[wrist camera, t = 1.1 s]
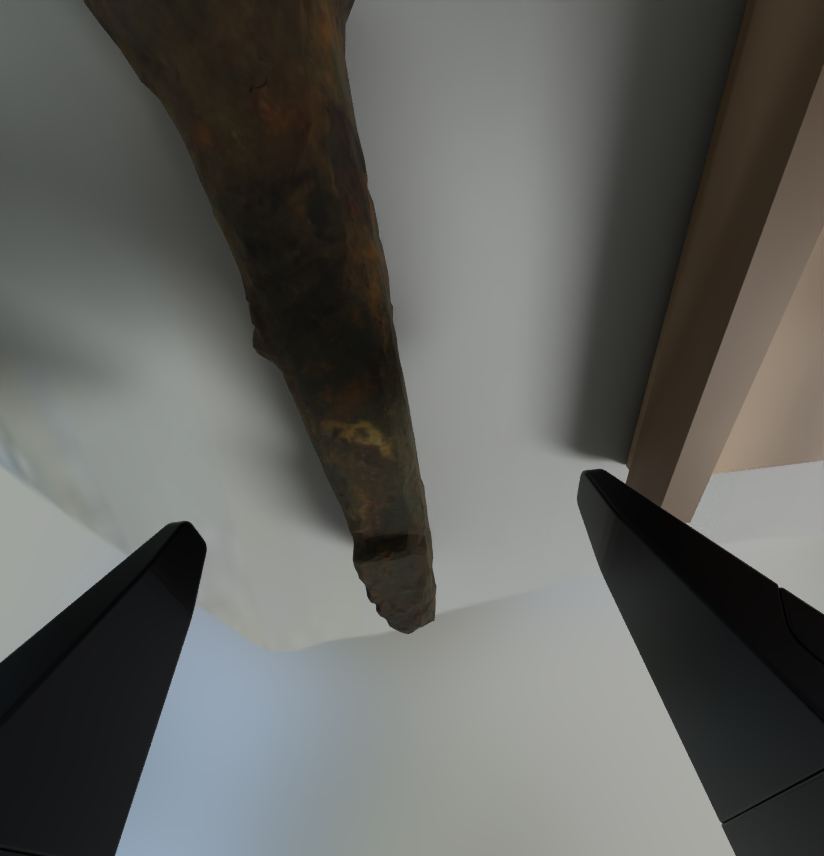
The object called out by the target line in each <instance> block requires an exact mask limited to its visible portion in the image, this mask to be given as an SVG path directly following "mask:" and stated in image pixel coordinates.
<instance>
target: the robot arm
mask: <svg viewBox="0 0 824 856" xmlns="http://www.w3.org/2000/svg"><path fill="white" fill-rule="evenodd" d="M577 502H578V507H579V510H580V513H581V516H582V518H583V521H584V524H585V527H586V530H587V533H588V536H589V539H590V542H591V545H592V548H593V550H594V553H595V556H596V559H597V562H598V565H599V567H600V570H601V572H602V574H603V577H604V579H605V581H606V583H607V585H608V587H609V589H610V592H611V594H612V596H613V598H614V600H615V602H616V604H617V606H618V608H619V611H620V613H621V615H622V617H623V619H624V621H625V623H626V625H627V627H628V629H629V631H630V634H631V636H632V638H633V640H634V642H635V644H636V646H637V648H638V650H639V652H640V655H641V657H642V659H643V661H644V663H645V665H646V667H647V669H648V671H649V674H650V676H651V678H652V680H653V682H654V684H655V686H656V688H657V690H658V692H659V695H660V696H661V699H662V701H663V703H664V705H665V707H666V709H667V711H668V713H669V715H670V717H671V719H672V722H673V724H674V726H675V728H676V730H677V732H678V734H679V737H680V739H681V741H682V743H683V745H684V747H685V749H686V751H687V753H688V756H689V758H690V760H691V762H692V764H693V766H694V768H695V770H696V772H697V774H698V777H699V779H700V780H701V783H702V785H703V787H704V789H705V791H706V793H707V795H708V797H709V800H710V801H711V804H712V806H713V808H714V810H715V812H716V814H717V816H718V818H719V820H720V822H721V823H722V828H723V829H724V832H725V834H726V836H727V838H728V840H729V842H730V844H731V846H732V848H733V851H734V853H735V855H736V856H824V614H823V613H821V612H820V611H818V610H816V609H815V608H813V607H812V606H810V605H809V604H807V603H805V602H804V601H802V600H801V599H799V598H798V597H796V596H795V595H793V594H792V593H790V592H789V591H787V590H786V589H784V588H779V587H778V585H777V584H776V583H775V582H773V581H772V580H770V579H769V578H767V577H766V576H764V575H763V574H761V573H760V572H758V571H757V570H755V569H754V568H752V567H750V566H749V565H748V564H746V563H745V562H743V561H742V560H740V559H739V558H737V557H735V556H734V555H732V554H731V553H729V552H728V551H726V550H725V549H723V548H722V547H720V546H719V545H717V544H716V543H714V542H713V541H711V540H710V539H708V538H707V537H705V536H704V535H702V534H701V533H699V532H698V531H696V530H695V529H693V528H692V527H690V526H688V525H687V524H685V523H684V522H682V521H681V520H679V519H678V518H676V517H675V516H673V515H672V514H670V513H669V512H667V511H666V510H664V509H663V508H661V507H660V506H658V505H657V504H655V503H654V502H652V501H651V500H649V499H648V498H646V497H644V496H643V495H641V494H640V493H638V492H637V491H635V490H634V489H632V488H631V487H629V486H628V485H626V484H625V483H623V482H622V481H620V480H619V479H617V478H616V477H614V476H613V475H611V474H610V473H608V472H607V471H605V470H603V469H593V470H585V471H583V472H582V473H581V476H580V482H579V488H578V494H577ZM206 551H207V547H206V543H205V541H204V539H203V538H202V537H201V535H200V534H199V533H198V531H197V530H196V529H195V527H194V526H193V525H192V524H191V523H190V522H188V521H180V522H173V523H169V524H168V525H166V526H165V527H164V528H162V529H161V530H160V531H159V532H158V533H156V534H155V535H154V536H153V537H152V538H150V539H149V540H148V541H147V542H146V543H144V544H143V545H142V546H141V547H140V548H138V549H137V550H136V551H135V552H133V553H132V554H131V555H130V556H129V557H127V558H126V559H125V560H124V561H123V562H121V563H120V564H119V565H118V566H117V567H115V568H114V569H113V570H112V571H111V572H109V573H108V574H107V575H106V576H105V577H103V578H102V579H101V580H100V581H99V582H98V583H96V584H95V585H94V586H92V587H91V588H90V589H89V590H88V591H86V592H85V593H84V594H83V595H82V596H80V597H79V598H78V599H77V600H76V601H74V602H73V603H72V604H71V605H70V606H68V607H67V608H66V609H65V610H64V611H62V612H61V613H60V614H59V615H57V616H56V617H55V618H54V619H53V620H51V621H50V622H49V623H48V624H46V625H45V626H44V627H43V628H42V629H41V630H39V631H38V632H37V633H36V634H35V635H33V636H32V637H31V638H30V639H28V640H27V641H26V642H25V643H24V644H22V645H21V646H20V647H19V648H17V649H16V650H15V651H14V652H13V653H11V654H10V655H9V656H8V657H7V658H5V660H3V661H2V662H1V663H0V856H115V854H116V851H117V847H118V844H119V841H120V838H121V835H122V832H123V829H124V826H125V823H126V820H127V817H128V813H129V810H130V807H131V804H132V801H133V798H134V795H135V792H136V789H137V785H138V782H139V780H140V776H141V773H142V770H143V767H144V764H145V761H146V758H147V755H148V752H149V749H150V746H151V742H152V739H153V736H154V733H155V730H156V727H157V724H158V721H159V718H160V715H161V711H162V709H163V705H164V702H165V699H166V696H167V693H168V690H169V687H170V684H171V681H172V678H173V675H174V672H175V668H176V665H177V662H178V659H179V656H180V653H181V650H182V646H183V644H184V641H185V637H186V634H187V631H188V628H189V625H190V622H191V618H192V615H193V611H194V607H195V603H196V598H197V593H198V589H199V584H200V580H201V575H202V570H203V566H204V561H205V557H206Z"/></svg>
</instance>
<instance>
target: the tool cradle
mask: <svg viewBox="0 0 824 856" xmlns="http://www.w3.org/2000/svg"><path fill="white" fill-rule="evenodd" d="M823 460H824V0H747V4H746V8H745V12H744V15H743V19H742V23H741V27H740V31H739V35H738V38H737V42H736V46H735V50H734V54H733V58H732V61H731V65H730V69H729V73H728V77H727V81H726V84H725V88H724V92H723V96H722V100H721V104H720V107H719V111H718V115H717V119H716V123H715V127H714V130H713V134H712V138H711V142H710V146H709V150H708V153H707V157H706V161H705V165H704V169H703V173H702V176H701V180H700V184H699V188H698V192H697V196H696V199H695V203H694V207H693V211H692V215H691V219H690V222H689V226H688V230H687V234H686V238H685V242H684V245H683V249H682V253H681V257H680V261H679V265H678V268H677V272H676V276H675V280H674V284H673V288H672V291H671V295H670V299H669V303H668V307H667V311H666V314H665V318H664V322H663V326H662V330H661V334H660V337H659V341H658V345H657V349H656V353H655V356H654V360H653V364H652V368H651V372H650V376H649V379H648V383H647V387H646V391H645V395H644V399H643V402H642V406H641V410H640V414H639V418H638V422H637V425H636V429H635V433H634V437H633V441H632V445H631V448H630V452H629V456H628V460H627V464H626V466H627V468H628V469H629V474H628V477H627V481H626V485H628V486H629V487H631V488H632V489H634V490H635V491H637V492H638V493H640V494H641V495H643V496H644V497H646V498H648V499H649V500H651V501H652V502H654V503H655V504H657V505H658V506H660V507H661V508H663V509H664V510H666V511H667V512H669V513H670V514H672V515H673V516H675V517H676V518H678V519H679V520H681V521H682V522H684V523H689V522H691V519H692V517H693V515H694V513H695V510H696V508H697V506H698V504H699V502H700V499H701V497H702V495H703V493H704V490H705V488H706V486H707V484H708V482H709V479H710V477H711V475H712V474H717V473H726V472H734V471H742V470H750V469H758V468H766V467H774V466H782V465H790V464H798V463H806V462H814V461H823Z"/></svg>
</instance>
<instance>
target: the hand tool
mask: <svg viewBox="0 0 824 856" xmlns="http://www.w3.org/2000/svg"><path fill="white" fill-rule="evenodd" d="M354 1H355V0H84V2H85V4H86V5H87V7H88V8H89V9H90V11H91V12H92V13H93V15H94V16H95V17H96V19H97V20H98V22H99V23H100V24H101V26H102V27H103V28H104V29H105V31H106V32H107V33H108V34H109V36H110V37H111V38H112V39H113V40H114V42H115V43H116V44H117V45H118V47H119V48H120V49H121V51H122V53H123V54H124V56H125V57H126V59H127V60H128V62H129V63H130V65H131V66H132V68H133V69H134V71H135V72H136V74H137V76H138V77H139V79H140V80H141V82H142V83H143V84H144V85H145V86H147V87H148V88H149V89H150V90H151V91H152V92H153V93H154V94H155V95H156V96H157V97H158V98H159V99H160V100H161V102H162V104H163V105H164V107H165V109H166V110H167V112H168V114H169V115H170V117H171V119H172V120H173V122H174V124H175V125H176V127H177V129H178V131H179V132H180V134H181V136H182V138H183V140H184V142H185V145H186V147H187V149H188V151H189V154H190V156H191V158H192V161H193V163H194V165H195V168H196V170H197V173H198V176H199V178H200V181H201V183H202V185H203V187H204V189H205V192H206V194H207V196H208V198H209V200H210V203H211V206H212V209H213V213H214V215H215V217H216V219H217V221H218V223H219V225H220V227H221V229H222V231H223V233H224V235H225V237H226V239H227V242H228V244H229V246H230V249H231V251H232V253H233V256H234V258H235V260H236V263H237V265H238V268H239V270H240V273H241V275H242V280H243V284H244V288H245V293H246V299H247V301H248V302H249V308H250V314H251V320H252V323H253V324H254V325H255V328H254V332H253V347H254V348H255V349H256V351H257V352H258V353H259V354H260V355H262V356H263V357H265V358H267V359H268V360H270V361H272V362H273V363H274V364H276V365H277V366H278V368H279V369H280V370H281V371H282V372H283V375H284V377H285V380H286V382H287V385H288V387H289V390H290V392H291V394H292V396H293V398H294V400H295V402H296V405H297V407H298V409H299V411H300V414H301V416H302V419H303V421H304V424H305V426H306V429H307V431H308V434H309V436H310V438H311V441H312V443H313V445H314V447H315V449H316V452H317V454H318V456H319V458H320V461H321V463H322V466H323V468H324V471H325V473H326V476H327V478H328V480H329V482H330V484H331V486H332V488H333V490H334V492H335V495H336V497H337V499H338V501H339V503H340V505H341V507H342V510H343V512H344V515H345V517H346V519H347V523H348V526H349V530H350V532H351V534H352V536H353V540H354V551H353V562H354V566H355V569H356V571H357V572H358V575H359V579H360V580H361V581H362V582H363V583H364V584H365V586H366V591H367V597H368V599H369V600H370V601H371V603H374V604H376V611H377V612H378V614H379V615H380V616H381V617H383V618H385V619H386V620H387V622H388V624H389V626H390V627H392V628H394V629H396V630H397V631H399V632H402V633H406V634H410V633H412V632H414V631H415V630H416V629H418V628H420V627H423V626H424V625H426V624H428V623H430V622H431V621H434V619H435V604H436V599H435V595H436V584H435V579H434V574H433V569H432V562H433V550H432V539H431V532H430V528H429V522H428V516H427V506H426V499H425V490H424V485H423V482H422V480H421V478H420V471H419V464H418V458H417V452H416V445H415V439H414V433H413V428H412V422H411V416H410V409H409V404H408V398H407V392H406V387H405V381H404V377H403V372H402V368H401V364H400V359H399V353H398V347H397V338H396V333H395V328H394V324H393V306H392V304H391V302H390V289H389V277H388V271H387V266H386V261H385V256H384V252H383V247H382V244H381V241H380V237H379V230H378V224H377V219H376V214H375V209H374V204H373V201H372V198H371V195H370V193H369V190H368V187H367V172H366V166H365V160H364V156H363V152H362V148H361V144H360V140H359V136H358V132H357V127H356V121H355V115H354V109H353V103H352V97H351V91H350V85H349V79H348V73H347V67H346V61H345V24H346V21H347V19H348V16H349V14H350V11H351V9H352V6H353V3H354Z"/></svg>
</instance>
